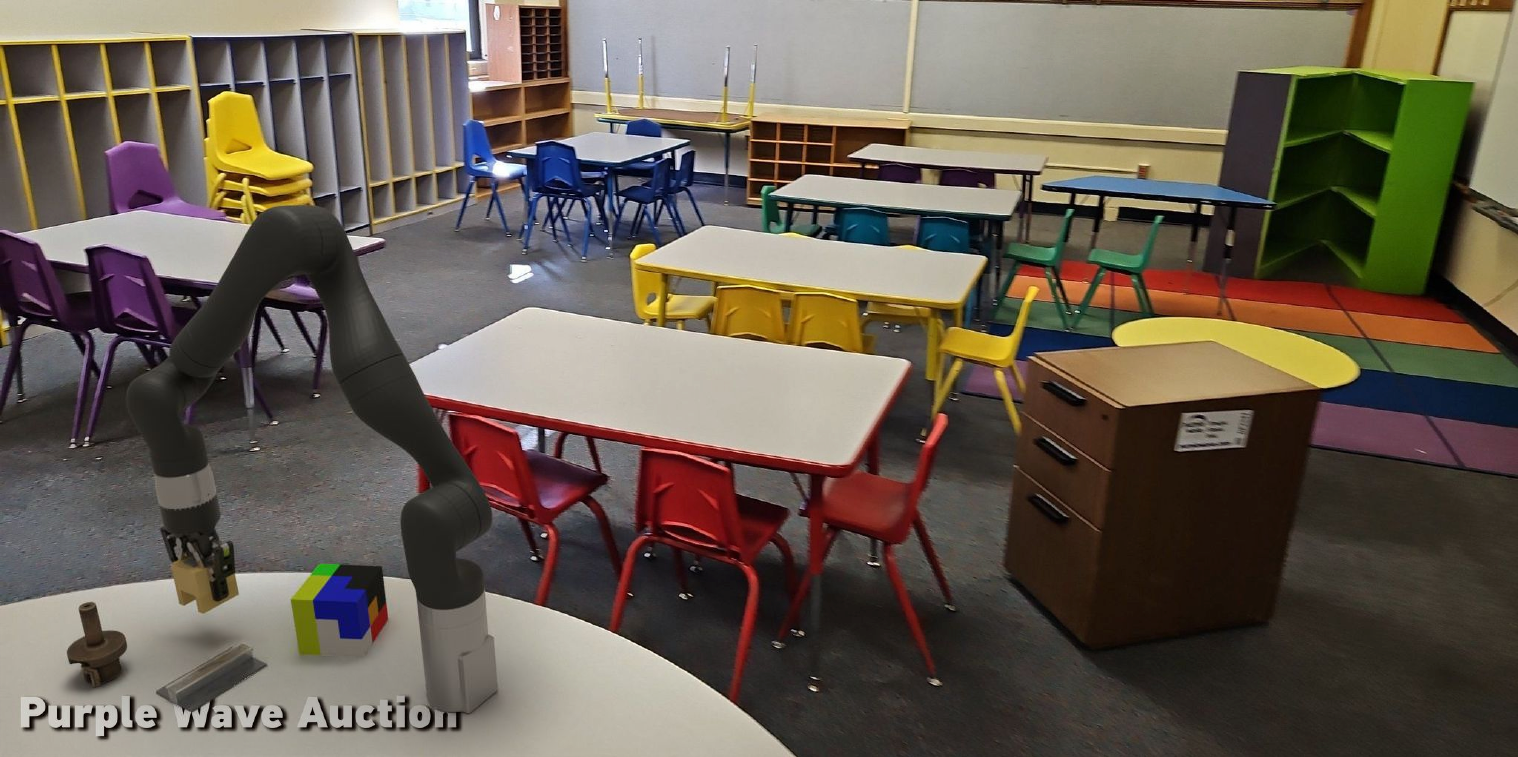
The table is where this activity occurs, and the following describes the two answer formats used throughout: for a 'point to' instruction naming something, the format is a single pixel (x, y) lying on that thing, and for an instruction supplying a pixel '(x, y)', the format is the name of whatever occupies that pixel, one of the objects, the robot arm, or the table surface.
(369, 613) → the puzzle toy
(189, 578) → the block
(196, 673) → the rail
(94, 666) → the industrial component
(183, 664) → the table surface
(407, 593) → the table surface
